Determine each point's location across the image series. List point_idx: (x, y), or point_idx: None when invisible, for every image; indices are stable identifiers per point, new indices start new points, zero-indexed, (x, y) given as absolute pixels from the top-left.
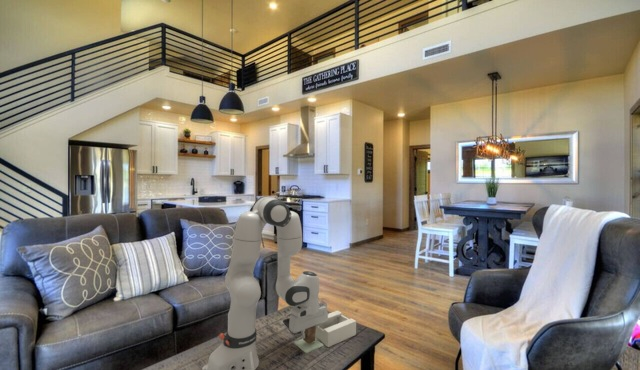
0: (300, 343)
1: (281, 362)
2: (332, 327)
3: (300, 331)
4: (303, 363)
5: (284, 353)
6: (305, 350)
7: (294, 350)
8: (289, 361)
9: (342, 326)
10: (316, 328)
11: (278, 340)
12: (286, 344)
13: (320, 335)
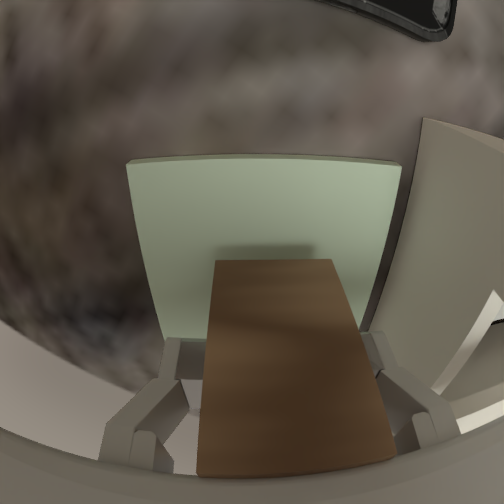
0: (183, 231)
1: (3, 312)
2: (473, 420)
3: (357, 4)
4: (116, 381)
5: (18, 253)
6: (173, 334)
7: (95, 266)
8: (43, 332)
9: (502, 415)
10: (388, 418)
11: (24, 29)
12: (56, 137)
13: (407, 327)
